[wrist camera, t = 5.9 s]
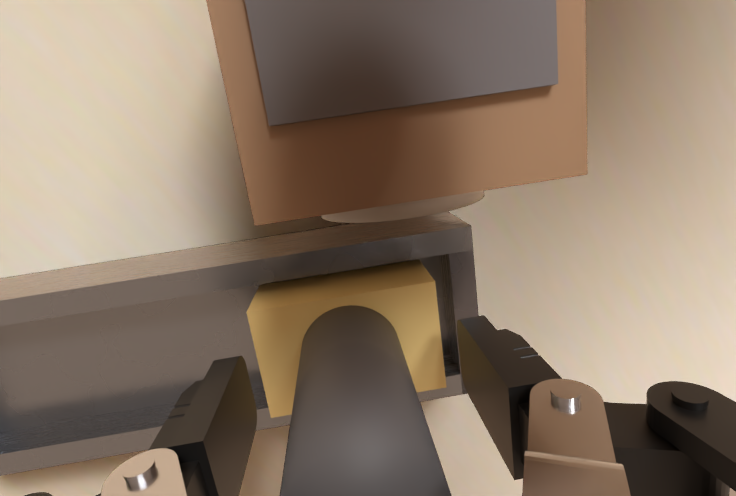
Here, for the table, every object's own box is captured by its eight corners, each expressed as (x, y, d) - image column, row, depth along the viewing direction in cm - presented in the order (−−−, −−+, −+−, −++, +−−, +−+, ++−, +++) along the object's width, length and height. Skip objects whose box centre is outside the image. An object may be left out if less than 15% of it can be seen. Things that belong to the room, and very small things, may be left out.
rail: (443, 209, 17) (471, 226, 14) (457, 345, 18) (484, 390, 15) (-52, 286, 16) (-150, 324, 13) (5, 422, 18) (-70, 488, 14)
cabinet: (430, -85, 14) (589, -451, 5) (453, 169, 17) (594, 203, 8) (251, -63, 14) (115, -408, 5) (298, 192, 16) (258, 256, 7)
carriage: (418, 259, 15) (522, 400, 7) (429, 351, 16) (532, 571, 8) (259, 285, 15) (171, 462, 7) (280, 376, 16) (224, 631, 8)
